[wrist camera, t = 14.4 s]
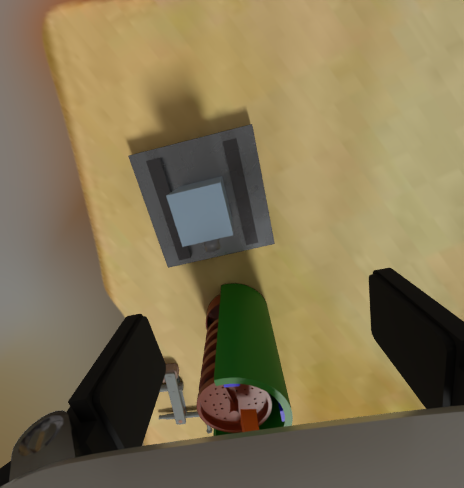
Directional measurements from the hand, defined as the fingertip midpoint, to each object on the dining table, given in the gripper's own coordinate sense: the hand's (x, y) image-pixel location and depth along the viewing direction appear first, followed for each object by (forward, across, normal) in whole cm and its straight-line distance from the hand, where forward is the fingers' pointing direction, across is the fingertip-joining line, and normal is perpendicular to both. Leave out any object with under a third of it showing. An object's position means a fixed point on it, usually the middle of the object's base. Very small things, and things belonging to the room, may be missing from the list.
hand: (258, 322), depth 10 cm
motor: (+23, +4, +15) cm, 27 cm away
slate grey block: (+21, +4, -2) cm, 21 cm away
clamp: (+23, +17, +29) cm, 41 cm away
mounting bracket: (+22, +4, -2) cm, 23 cm away
